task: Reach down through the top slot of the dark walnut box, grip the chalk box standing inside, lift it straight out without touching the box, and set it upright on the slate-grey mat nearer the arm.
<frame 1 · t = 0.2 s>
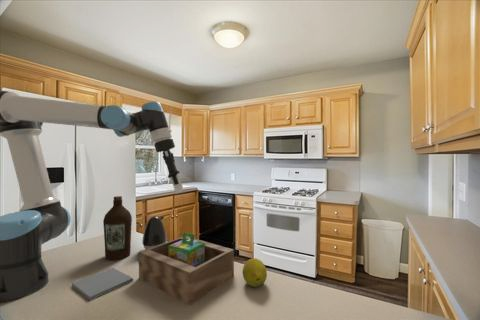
hand: (179, 190, 95), 28 cm above the countertop, tool tilted 20°, fingers open, 13 cm apart
slate mat: (103, 283, 77), on the countertop
olive oil: (117, 256, 98), on the countertop
pump dispenser: (154, 250, 105), on the countertop
lemon: (254, 285, 76), on the countertop
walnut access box: (186, 276, 81), on the countertop
chalk box: (186, 277, 81), resting in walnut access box
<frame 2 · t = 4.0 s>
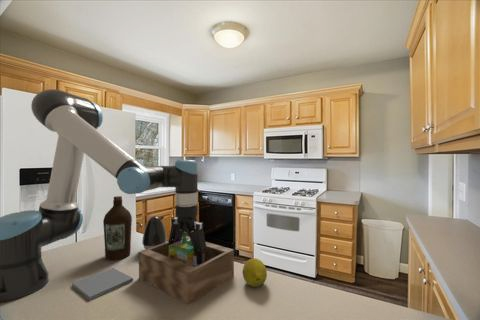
hand: (186, 269, 81), 3 cm above the countertop, tool pointing down, fingers closed on chalk box, 9 cm apart
chalk box: (186, 277, 81), resting in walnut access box, touching gripper
everything else where it was.
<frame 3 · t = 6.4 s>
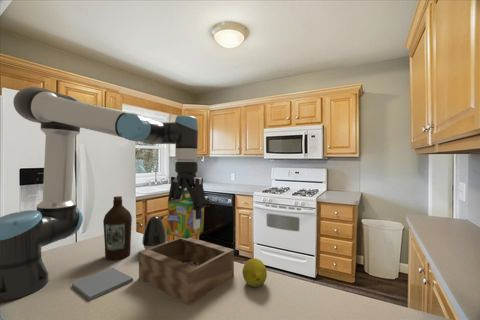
hand: (186, 225, 81), 18 cm above the countertop, tool pointing down, fingers closed on chalk box, 9 cm apart
chalk box: (185, 234, 81), point 15 cm above the countertop, touching gripper
everything else where it was.
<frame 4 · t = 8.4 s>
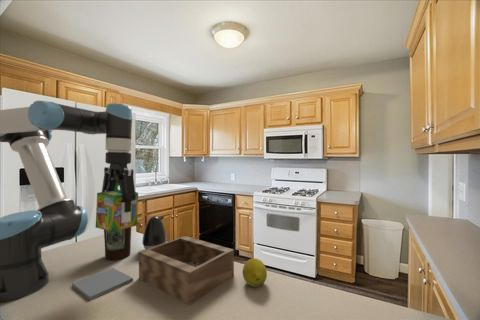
hand: (117, 219, 78), 21 cm above the countertop, tool pointing down, fingers closed on chalk box, 9 cm apart
chalk box: (117, 227, 78), point 18 cm above the countertop, touching gripper
everything else where it was.
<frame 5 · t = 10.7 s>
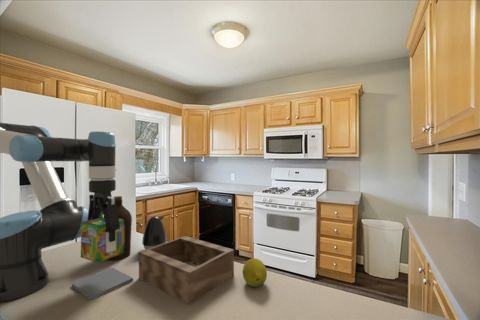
hand: (103, 247, 76), 12 cm above the countertop, tool pointing down, fingers closed on chalk box, 9 cm apart
chalk box: (102, 256, 76), point 9 cm above the countertop, touching gripper
everything else where it was.
when the fingers open (6 cm above the countertop, at t = 12.9 s): chalk box drops 2 cm, resting on slate mat.
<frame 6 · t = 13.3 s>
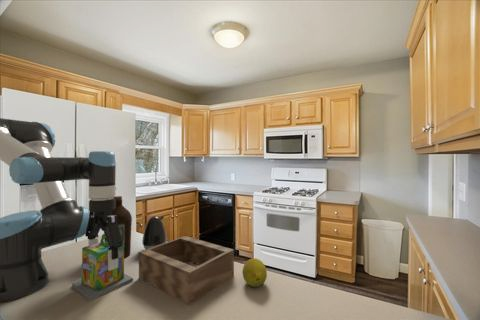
hand: (102, 263, 76), 7 cm above the countertop, tool pointing down, fingers open, 13 cm apart
chalk box: (103, 281, 76), point 1 cm above the countertop, touching slate mat
everything else where it was.
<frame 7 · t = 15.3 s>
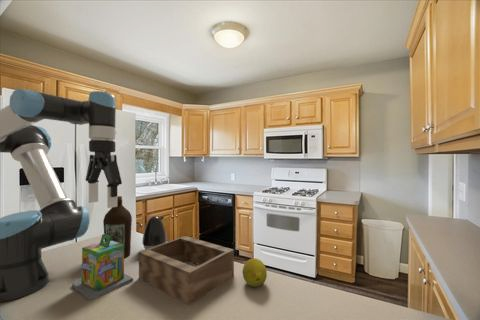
hand: (102, 204, 77), 26 cm above the countertop, tool pointing down, fingers open, 13 cm apart
nothing on the countertop moved.
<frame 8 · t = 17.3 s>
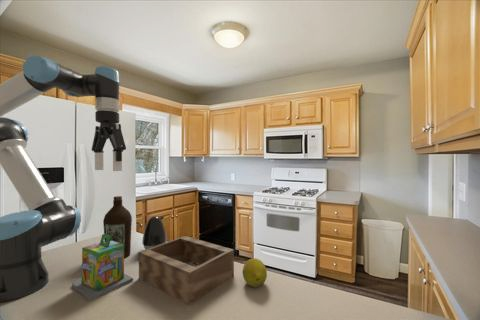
hand: (107, 170, 84), 37 cm above the countertop, tool pointing down, fingers open, 13 cm apart
nothing on the countertop moved.
at the end: chalk box inside the target area on the slate mat (0.4 cm from its centre), point 0.8 cm above the slate mat's base; chalk box tilted 0°; the gripper is holding nothing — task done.
